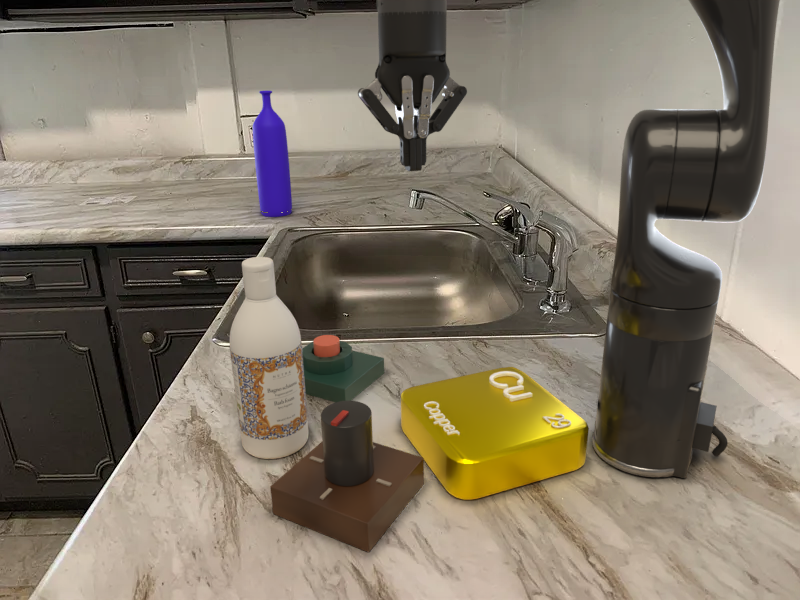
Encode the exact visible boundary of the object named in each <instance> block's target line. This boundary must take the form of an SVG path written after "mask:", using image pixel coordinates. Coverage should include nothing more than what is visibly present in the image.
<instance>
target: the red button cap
mask: <svg viewBox="0 0 800 600" xmlns="http://www.w3.org/2000/svg"><path fill="white" fill-rule="evenodd" d="M340 341H341V340H340V338H339V337H338V336H337V335H333V334H323V335H318V336H316V337H315V338H313V340H312V342H313V345H314V355H315V356H319V357H332V356H335V355H338V354H339V353H340Z"/></svg>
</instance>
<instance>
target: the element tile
mask: <svg viewBox="0 0 800 600" xmlns="http://www.w3.org/2000/svg"><path fill="white" fill-rule="evenodd" d="M400 424H401V425H400V427H401V430H402V432H403V434H404V435H405V436H406V438H407V439H408V441H409V442H410V443H411V444H412V445H413V447H414V448H415V450H416V451H417V453H418V454H419V456H420V457H423V458H424V463H426V465H427V466H428V467H429V469H430V470H431V472H432V473H433V474H434V475H435V477H436V478H437V479H438V481H439V482H440V484H441V485H442V486H443V488H444V489H445V490H446V492H447V493H449V494H450V495H451V496H452V497H454V498H457V499H460V500H464V501H465V500H467V501H468V500H470V501H471V500H476V499H477V500H478V499H482V498H484V497H485V498H486V497H488V496H491V495H495V494H498V493H501V492H505V491H509V490H513V489H516V488H519V487H522V486H525V485H529V484H533V483H536V482H540V481H543V480H547V479H550V478H554V477H556V476H560V475H563V474H567V473H571V472H574V471H577V470H579V469H581V467H583V466H584V465H585V463H586V459H587V458H586V457H587V450H588V441H589V440H588V439H589V431H590V428H589V425H588V423H587V421H585V419H584V418H582V417H581V416H580V415H579V414H577V412H575V411H573V410H572V409H571V408H570V407H568V406H567V405H566V404H565V403H564V402H562V401H561V400H559V398H557V397H556V396H554V394H552V393H551V392H550V391H549V390H547V389H546V388H545V387H543V386H542V385H541V384H539V383H538V382H537V381H535V380H534V379H533V378H532V377H531V376H529V375H528V374H527V373H526V372H524V371H522V370H521V369H519V368H517V367H514V366H506V367H498V368H494V369H488V370H484V371H478V372H474V373H469V374H465V375H461V376H456V377H451V378H446V379H442V380H436V381H432V382H428V383H422V384H419V385H413V386H411V387H408V388H406V389H404V390H403V391H402V392H401V394H400Z"/></svg>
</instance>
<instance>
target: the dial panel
mask: <svg viewBox="0 0 800 600" xmlns="http://www.w3.org/2000/svg"><path fill="white" fill-rule="evenodd" d="M373 463H374V471H373V474H372V476H371V477H370V478H369V479H368V480H367V481H365V482H364V483H361V484H359V485H355V486H339V485H336V484H333V483H331V482H330V481H329V480H328V479H327V478H326V476H325V469H324V456H323V442H322V441H320V443H318V444H317V445H316V446H315V447H313V448H312V450H311V451H310V452H308V453H307V454H306V455H305V456H304V457H302V458H301V459H299V461H298V462H297V463H295V464H294V465H293V466H292V467H291V468H290V469H289V470H288V471H286V472H285V473H284V474H283V475H281V477H280V478H278V479H277V480H276V481H275V482H274V483H272V484H271V485H270V487H269V488H270V497H271V505H272V514H273V515H275V516H277V517H279V518H282V519H284V520H287V521H290V522H292V523H294V524H298V525H299V526H302V527H304V528H307V529H309V530H312V531H314V532H317V533H319V534H322V535H325V536H326V537H328V538H329V537H330V538H331V539H334V540H337V541H339V542H341V543H344V544H347V545H349V546H352V547H354V548H356V549H359V550H361V551H364V552H366V553H370V552H371V550H372V549H373V548H374V547H375V545H376V544H377V543H378V542H379V541H380V539H381V538H382V537H383V536H384V534H385V533H386V532H387V530H388V529H389V528H390V527H391V525H392V524H393V523H395V522H394V521H395V520H396V519H397V518H398V517H399V515H400V514H401V513H402V512H403V511H404V509H405V508H406V507H407V505H408V504H409V503H410V502H411V501H412V499H413V498H414V497H415V495H416V494H417V493H418V492H419V490H421V488H422V487H423V486H424V484H425V467H424V466H425V460H424V458H423V457H422V456H421V455H417V454H414V453H410V452H406V451H403V450H400V449H397V448H393V447H390V446H387V445H383V444H380V443H378V442H375V441H373Z"/></svg>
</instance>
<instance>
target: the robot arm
mask: <svg viewBox="0 0 800 600" xmlns="http://www.w3.org/2000/svg"><path fill="white" fill-rule="evenodd" d="M688 1H689V3H690V5H691V7H692V9H693V10H694V12H695V14H696V16H697V17H698V19H699V21H700V22H701V25H702V26H703V28H704V30H705V32H706V34H707V37H708V39H709V42H710V44H711V47H712V49H713V52H714V55H715V58H716V61H717V65H718V69H719V74H720V79H721V84H722V85H721V87H722V94H723V96H722V97H723V108H722V109H710V108H709V109H703V108H701V109H700V108H699V109H698V108H697V109H696V108H692V109H691V108H677V109H676V108H649V109H642V110H640V111H639V112H637V113H636V114H634V116H633V117H632V118H631V121H630V122H629V124H628V126H627V129H626V133H625V136H624V140H623V148H622V154H621V166H620V168H621V169H620V182H619V183H620V184H619V200H618V201H619V203H618V205H619V206H618V207H619V208H618V220H617V221H618V222H617V223H618V224H617V235H616V243H615V252H614V260H613V267H612V273H611V281H610V290H609V299H608V309H607V316H606V326H605V335H604V343H603V352H602V361H601V370H600V371H601V372H600V379H599V388H598V395H597V397H596V399H597V403H596V405H595V406H596V414H595V416H596V417H595V420H594V421H595V422H594V428H593V432H592V441H591V442H592V447H593V449H594V451H595V453H596V454H597V455H598V456H599V458H601V459H602V460H603V461H604V462H605V463H607V464H608V465H610V466H612V467H614V468H616V469H618V470H620V471H623V472H625V473H628V474H632V475H635V476H640V477H646V478H668V477H677V478H681V479H686V478H687V477H688V473H689V467H690V465H691V462H692V458H693V449H694V450H698V451H703V452H706V453H708V452H709V451H710V445H711V439H712V436H714V437H715V438H716V439H717V440H718V444H717V445H716V446H715V447H714V448H713V449H712V451H711V454H712V455H713V456H715V457H720V455H721V454H722V453H723V452H724V451H725V450H726V449H727V446H728V438H727V437H726V435H725V433H723V431H721V430H720V429H719V427H717V426H716V425H714V424H715V418H716V413H717V405H716V404H711V403H707V402H702V398H703V394H704V393H703V392H704V388H705V381H706V375H707V370H708V361H709V355H710V350H711V345H712V339H713V333H714V327H715V322H716V316H717V311H718V305H719V299H720V297H721V296H720V295H721V290H722V285H723V271H722V269H721V267H720V266H719V265H718V264H717V263H716V262H715V261H714V260H712V259H711V258H709V257H708V256H706V255H703V254H701V253H698V252H697V251H694V250H691V249H689V248H686V247H685V246H682V245H680V244H677V243H676V242H674V241H673V240H671V239H669V238H668V237H666V235H664V234H662V233H661V232H660V231H659V229H658V228H657V227H656V226H655V224H656V221H657V220H667V221H668V220H671V221H673V220H674V221H686V222H688V221H689V222H703V223H723V224H725V223H726V224H729V223H739V222H741V221H743V220H744V219H746V218H747V217H748V216H749V215H750V214H751V212H752V211H753V209H754V207H755V205H756V203H757V200H758V196H759V194H760V191H761V187H762V182H763V177H764V170H765V164H766V163H765V162H766V154H767V153H766V152H767V144H768V143H767V142H768V133H769V121H770V120H769V119H770V118H769V117H770V107H771V106H770V105H771V104H770V103H771V93H772V78H773V65H774V51H775V42H776V41H775V39H776V32H777V31H776V30H777V21H778V16H779V15H778V14H779V8H780V1H781V0H688ZM447 2H448V1H447V0H376V10H377V34H378V36H377V37H378V64H377V68H376V69H375V72H374V79H372V81H371V82H370V83H368V84H367V85H366V86H365V87H361V88H359V89H358V91H357V96H358V99H359V100H360V101H361V102H362V103H363V105H364V106H365V107H366V108H367V109H368V111H369V112H370V113H371V115H372V116H373V117H374V119H376V121H377V122H378V123H379V124H380V126H381V127H382V128H383V130H384V131H385V132H387V133H389V134H392V135H395V136H397V137H398V139H399V161H400V164H401V165H402V166H403V167H404V169H405V171H407V172H420V171H422V169H423V166H425V165H426V163H427V139H428V137H429V136H430V135H431V134H434V133H440V132H441V131H442V130H443V129H444V127H445V126H446V124H447V123H448V121H449V120H450V118H451V117H452V115H453V114H454V113H455V112H456V110H457V108H458V107H459V106H460V104H461V103H462V102H463V100H464V99H465V97H466V95H467V93H468V89H467V87H465V86H463V85H460V84H459V83H458V82H456V81H455V80H454V79H453V78H451V72H450V71H451V70H450V68H449V66H448V64H447V18H448V17H447V10H448V9H447V8H448V5H447ZM381 89H382V91H383V93H384V94H385V95H386V96H387V98H388V100H389V101H390V102H391V104H393V105H394V107H395V108H394V110H395V111H394V112H395V116H396V119H397V122H396V120H395V119H394V118H393V116H392V115H391V114H390V113H389V111H388V110H387V108H385V107H386V106H384V105H383V103H382V100H383V94H382V92H381ZM441 92H442V93H441ZM440 94H441V96H442V99H441V101H440V103H439V104H438V105H437V106H436V108H435V110H434V111H433V112H432V105H433V103H434V102H435V101H436V99H437V98H438V96H439V95H440Z"/></svg>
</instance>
